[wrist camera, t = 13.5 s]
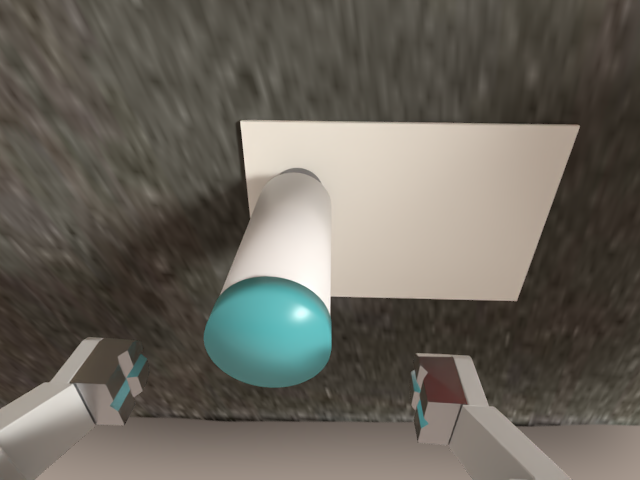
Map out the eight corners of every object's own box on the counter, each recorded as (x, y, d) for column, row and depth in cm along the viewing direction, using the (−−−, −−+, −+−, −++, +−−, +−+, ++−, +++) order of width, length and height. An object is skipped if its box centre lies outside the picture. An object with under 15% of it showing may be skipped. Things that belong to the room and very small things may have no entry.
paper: (577, 124, 20) (580, 126, 20) (515, 298, 26) (516, 300, 26) (241, 119, 21) (240, 121, 20) (258, 291, 27) (258, 294, 27)
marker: (333, 158, 21) (332, 298, 11) (331, 223, 23) (330, 389, 13) (260, 157, 21) (193, 295, 11) (265, 221, 24) (213, 385, 13)
